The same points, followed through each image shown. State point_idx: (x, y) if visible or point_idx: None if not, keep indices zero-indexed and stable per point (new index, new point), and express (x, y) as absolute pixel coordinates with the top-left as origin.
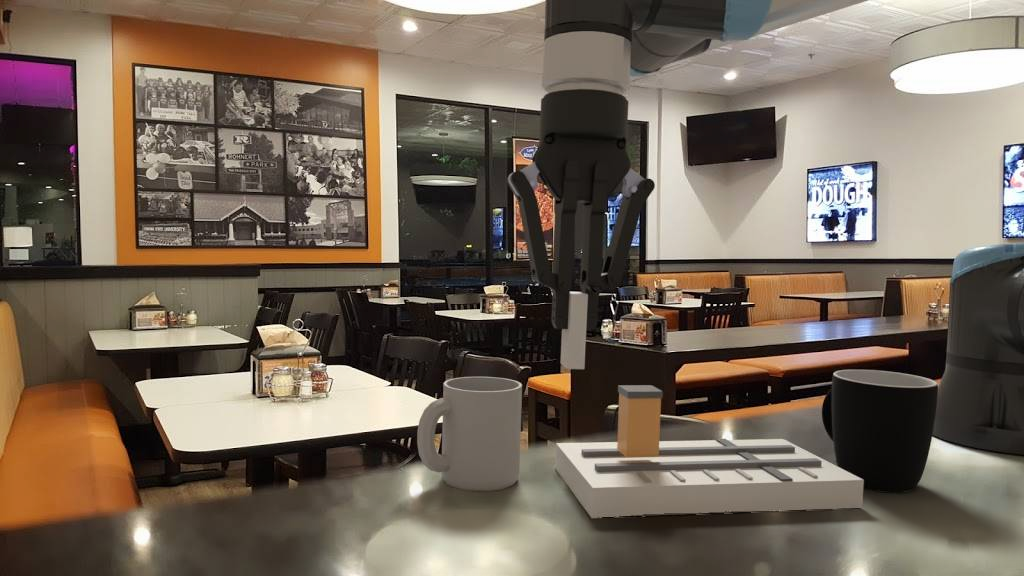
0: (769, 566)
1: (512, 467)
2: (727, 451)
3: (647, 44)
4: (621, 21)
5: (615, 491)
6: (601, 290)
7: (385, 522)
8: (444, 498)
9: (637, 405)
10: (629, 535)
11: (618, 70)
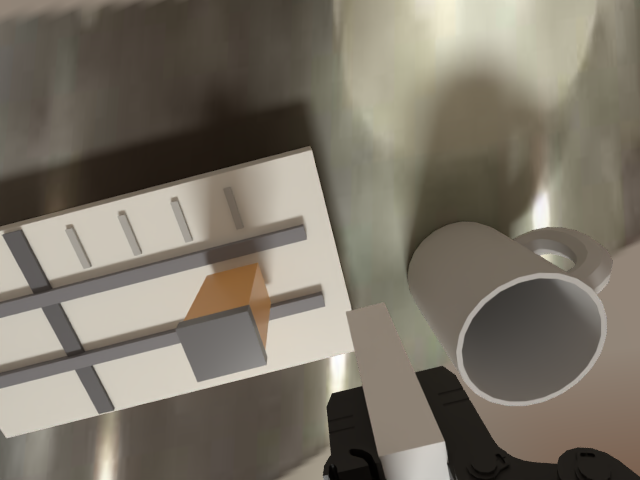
0: (79, 10)
1: (423, 255)
2: (98, 349)
3: None
4: None
5: (277, 158)
6: (329, 462)
7: (576, 90)
8: (503, 189)
9: (231, 304)
10: (261, 93)
11: None
